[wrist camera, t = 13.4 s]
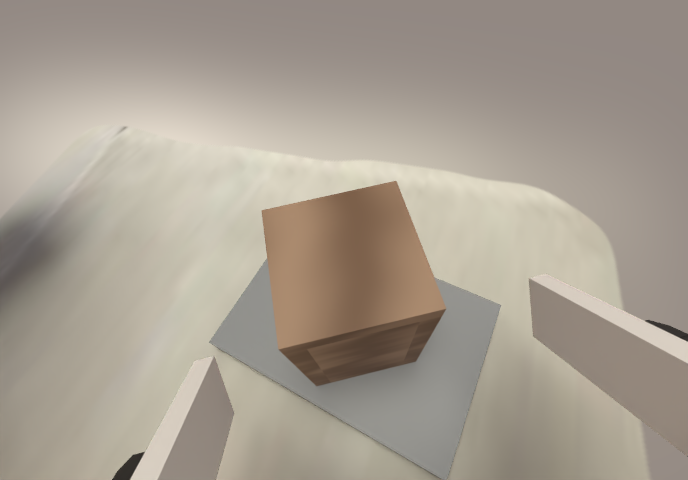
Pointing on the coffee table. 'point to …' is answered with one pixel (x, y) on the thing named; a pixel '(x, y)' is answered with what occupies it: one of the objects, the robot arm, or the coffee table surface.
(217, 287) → the coffee table surface
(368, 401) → the stub plate
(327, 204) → the brown wooden block
